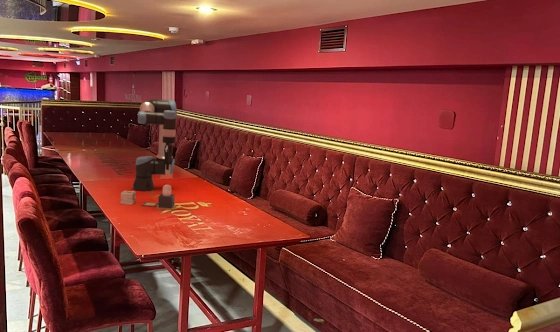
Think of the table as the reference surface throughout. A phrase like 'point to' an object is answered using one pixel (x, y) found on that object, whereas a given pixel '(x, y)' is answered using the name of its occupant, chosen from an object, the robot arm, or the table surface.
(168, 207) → the button box
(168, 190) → the dome plunger
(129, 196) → the die
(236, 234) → the table surface
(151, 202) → the pad
